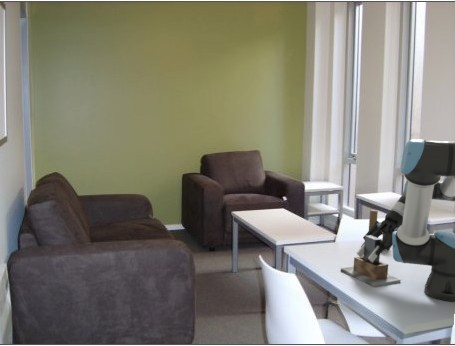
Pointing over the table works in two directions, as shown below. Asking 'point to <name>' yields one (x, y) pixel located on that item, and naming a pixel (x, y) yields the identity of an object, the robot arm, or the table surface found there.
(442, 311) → the table surface
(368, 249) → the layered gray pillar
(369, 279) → the post slot
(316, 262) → the table surface
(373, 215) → the wooden angular frame
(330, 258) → the table surface
